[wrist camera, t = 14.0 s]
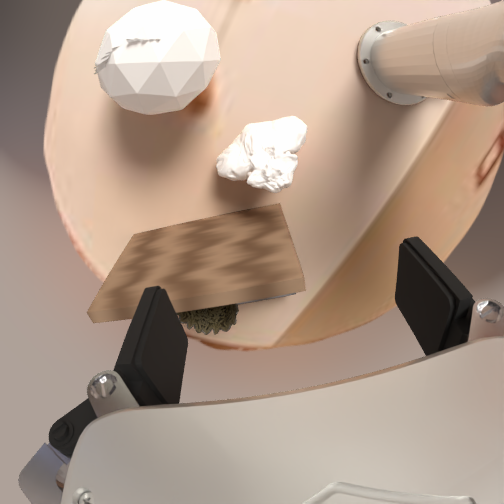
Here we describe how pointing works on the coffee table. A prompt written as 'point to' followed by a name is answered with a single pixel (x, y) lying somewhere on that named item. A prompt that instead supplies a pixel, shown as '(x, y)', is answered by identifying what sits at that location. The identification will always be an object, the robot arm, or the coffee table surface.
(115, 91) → the geodesic sphere
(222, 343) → the coffee table surface
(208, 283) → the board
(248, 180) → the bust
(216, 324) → the cup
